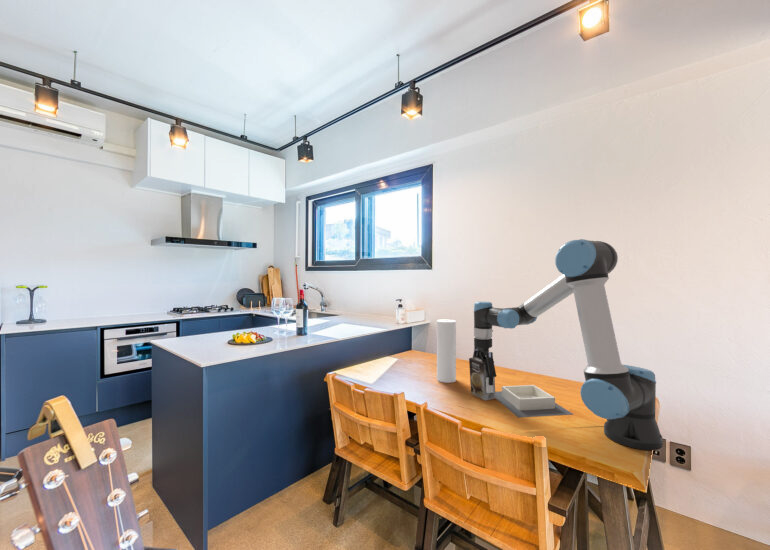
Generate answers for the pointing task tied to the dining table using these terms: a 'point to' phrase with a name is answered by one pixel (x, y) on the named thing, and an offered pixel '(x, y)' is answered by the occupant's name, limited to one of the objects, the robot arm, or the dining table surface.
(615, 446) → the dining table surface
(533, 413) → the mat
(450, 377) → the cylinder container
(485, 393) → the coffee box
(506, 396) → the tray
